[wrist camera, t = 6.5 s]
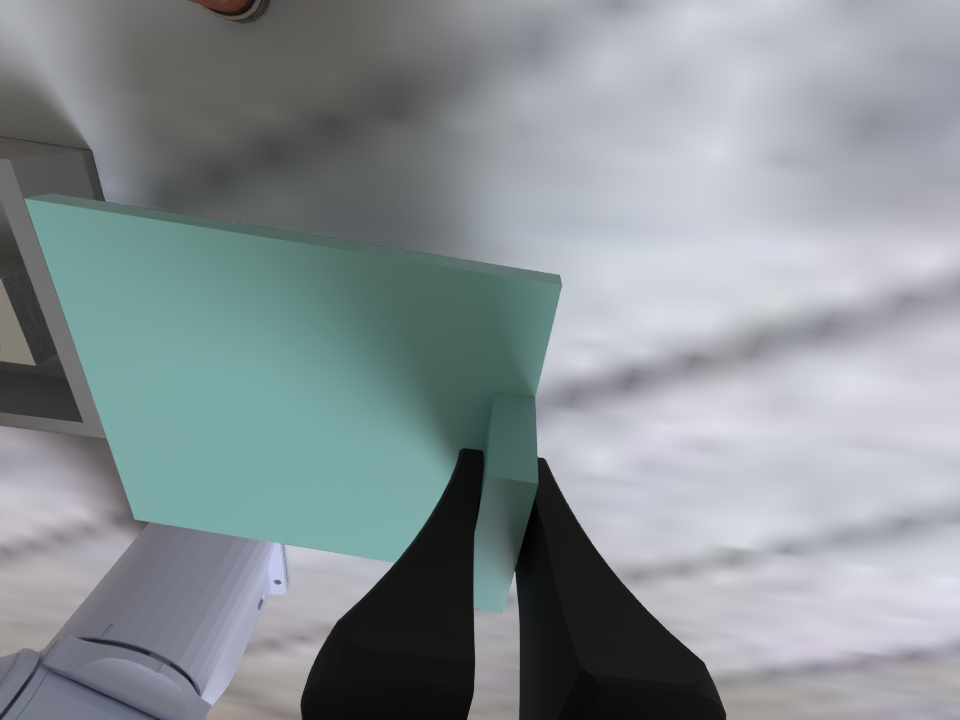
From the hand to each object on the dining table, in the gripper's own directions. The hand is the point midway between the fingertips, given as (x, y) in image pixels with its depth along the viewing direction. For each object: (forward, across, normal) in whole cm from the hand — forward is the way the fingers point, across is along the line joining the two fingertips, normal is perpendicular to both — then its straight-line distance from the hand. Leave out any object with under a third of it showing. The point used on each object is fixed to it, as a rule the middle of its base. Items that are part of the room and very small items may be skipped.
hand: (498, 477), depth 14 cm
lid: (+3, +6, 0) cm, 7 cm away
